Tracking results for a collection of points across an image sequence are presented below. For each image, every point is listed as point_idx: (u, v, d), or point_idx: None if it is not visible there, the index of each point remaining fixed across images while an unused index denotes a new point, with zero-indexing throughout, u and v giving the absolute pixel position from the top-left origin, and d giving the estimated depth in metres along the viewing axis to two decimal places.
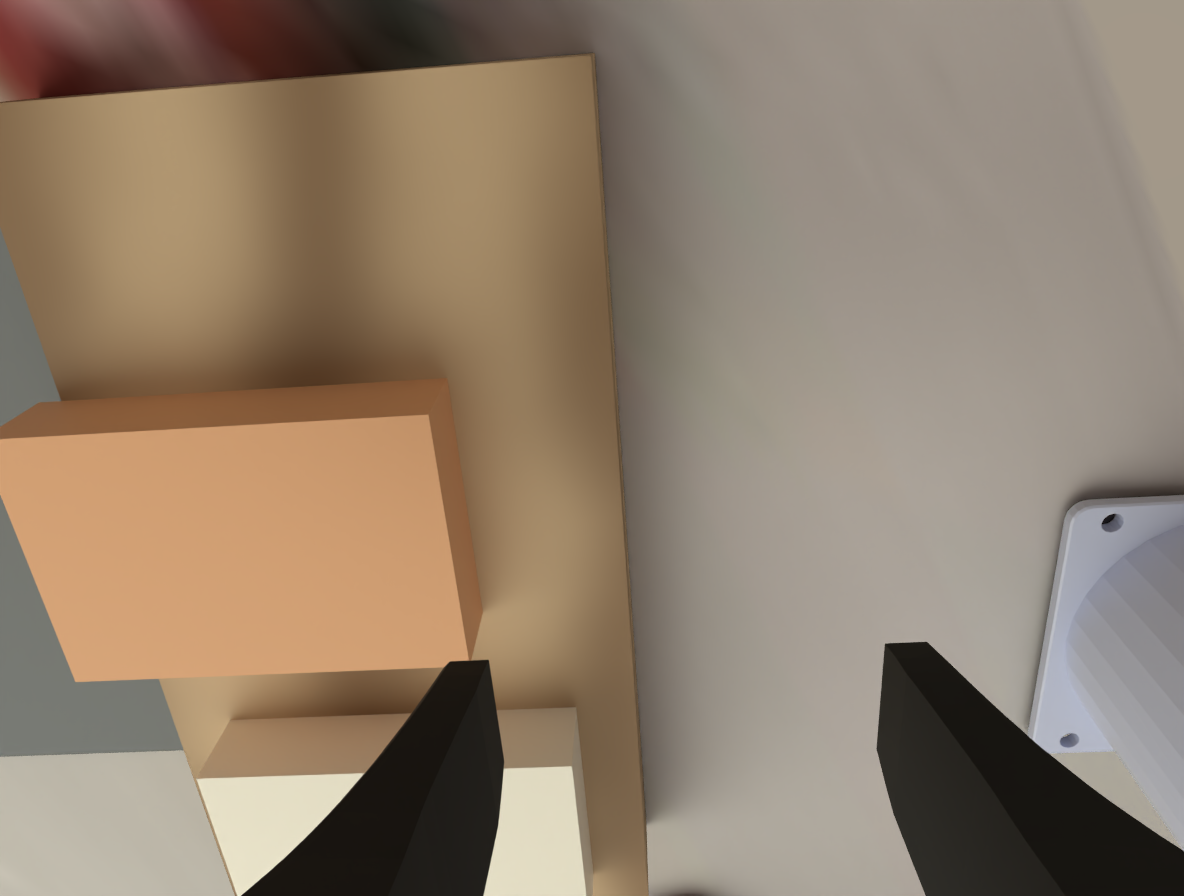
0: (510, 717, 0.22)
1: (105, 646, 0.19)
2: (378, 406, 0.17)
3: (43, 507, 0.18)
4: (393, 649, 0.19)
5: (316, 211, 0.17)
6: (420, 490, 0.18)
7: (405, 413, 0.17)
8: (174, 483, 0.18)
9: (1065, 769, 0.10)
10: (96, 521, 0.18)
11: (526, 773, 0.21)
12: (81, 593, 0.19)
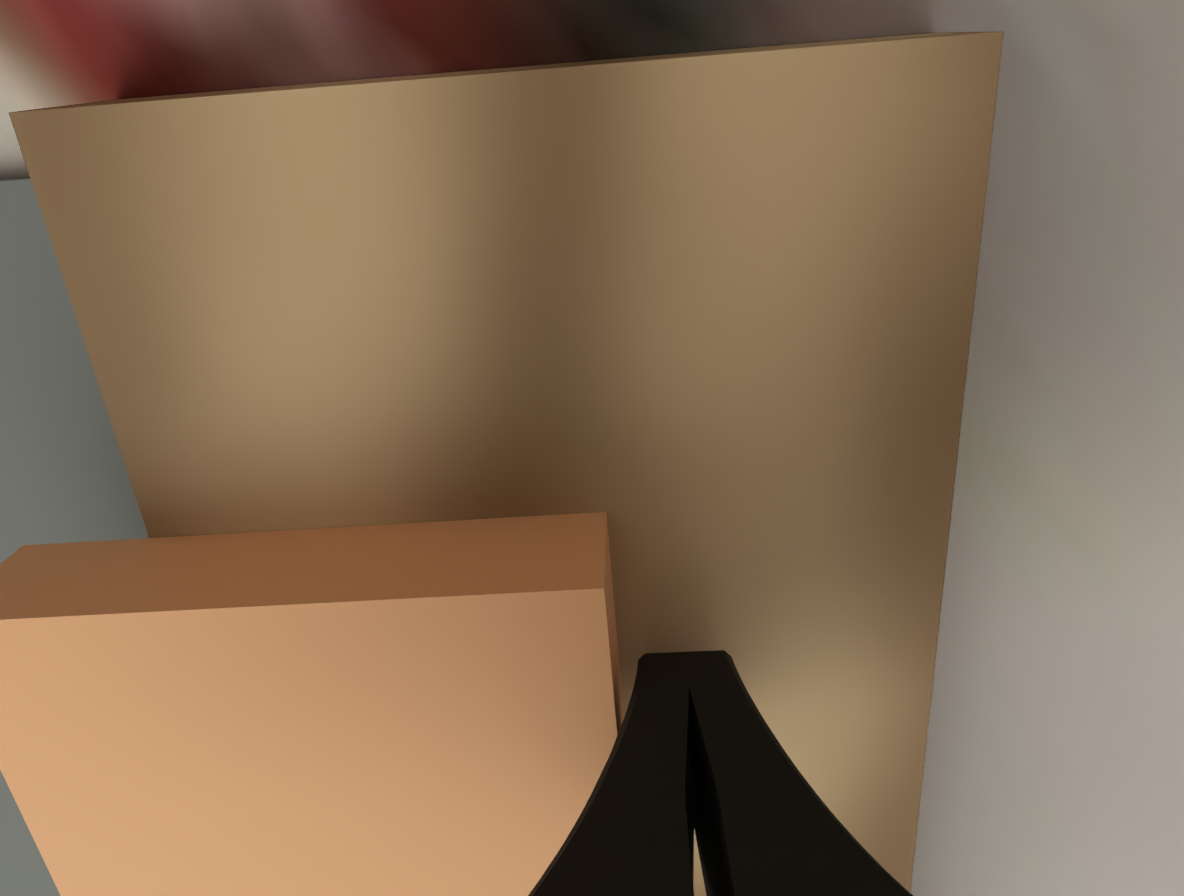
0: None
1: (118, 886, 0.14)
2: (520, 568, 0.12)
3: (27, 712, 0.12)
4: (526, 892, 0.14)
5: (544, 268, 0.12)
6: (582, 690, 0.12)
7: (566, 585, 0.11)
8: (218, 681, 0.12)
9: (797, 778, 0.10)
10: (104, 730, 0.12)
11: None
12: (83, 821, 0.13)
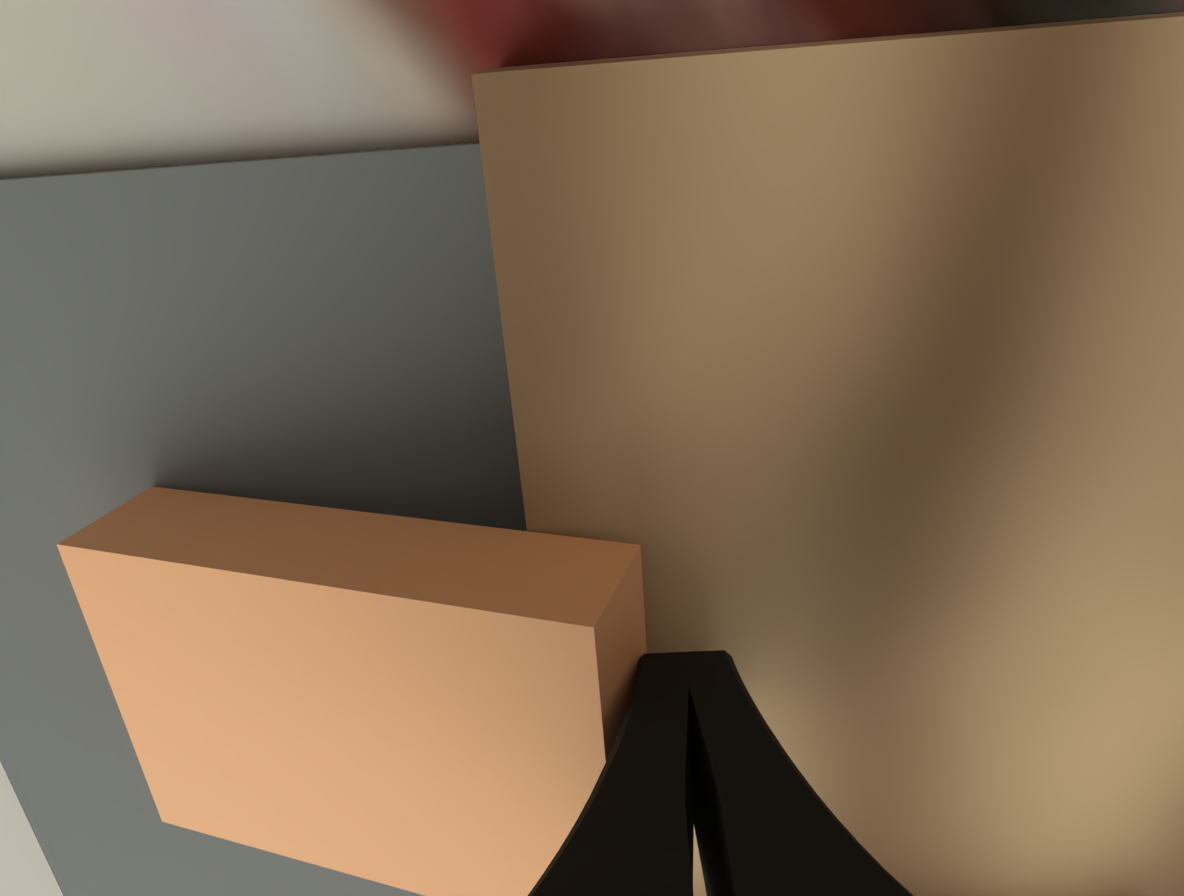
0: None
1: (191, 795, 0.16)
2: (529, 589, 0.12)
3: (123, 632, 0.14)
4: None
5: (999, 236, 0.11)
6: (573, 723, 0.12)
7: (561, 617, 0.11)
8: (261, 640, 0.13)
9: (797, 778, 0.10)
10: (178, 661, 0.14)
11: None
12: (165, 733, 0.15)
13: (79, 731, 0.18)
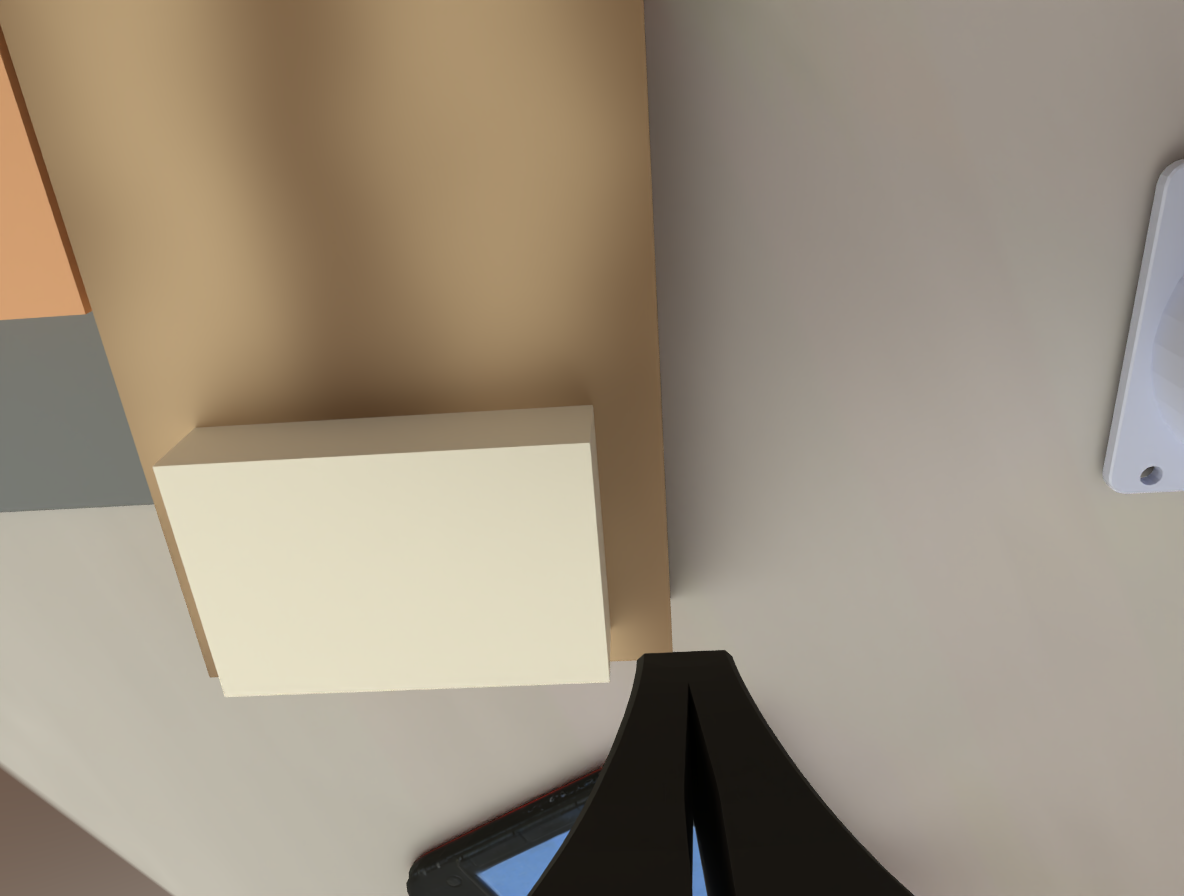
0: (517, 414, 0.19)
1: None
2: None
3: None
4: (5, 294, 0.19)
5: None
6: None
7: None
8: None
9: (798, 778, 0.10)
10: None
11: (536, 453, 0.18)
12: None
13: None
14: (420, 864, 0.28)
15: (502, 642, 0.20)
